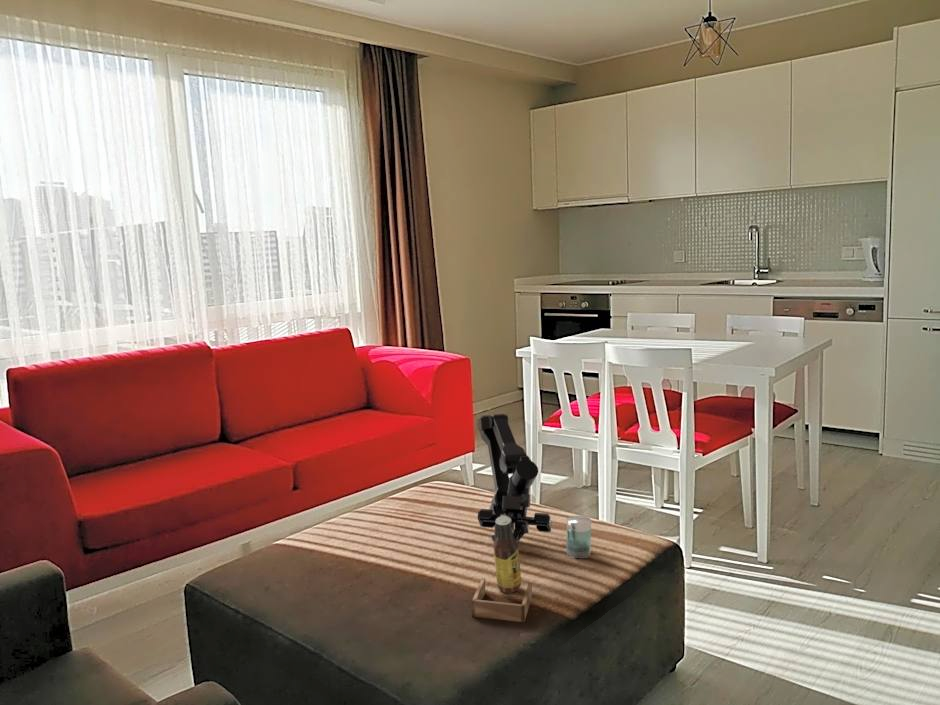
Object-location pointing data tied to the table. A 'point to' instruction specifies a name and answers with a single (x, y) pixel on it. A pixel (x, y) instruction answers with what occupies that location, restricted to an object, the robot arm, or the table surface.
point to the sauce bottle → (506, 557)
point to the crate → (500, 606)
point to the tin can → (578, 536)
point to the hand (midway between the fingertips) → (510, 551)
